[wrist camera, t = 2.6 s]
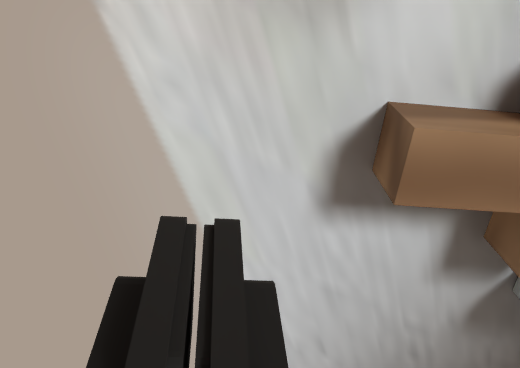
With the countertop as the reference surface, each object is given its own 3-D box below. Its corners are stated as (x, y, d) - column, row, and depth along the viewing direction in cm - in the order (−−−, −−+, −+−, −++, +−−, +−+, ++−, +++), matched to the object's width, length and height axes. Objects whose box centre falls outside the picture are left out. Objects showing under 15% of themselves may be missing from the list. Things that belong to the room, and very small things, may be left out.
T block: (406, 22, 16) (439, 35, 14) (633, 45, 17) (706, 61, 15) (358, 229, 21) (376, 270, 18) (543, 240, 21) (587, 281, 19)
